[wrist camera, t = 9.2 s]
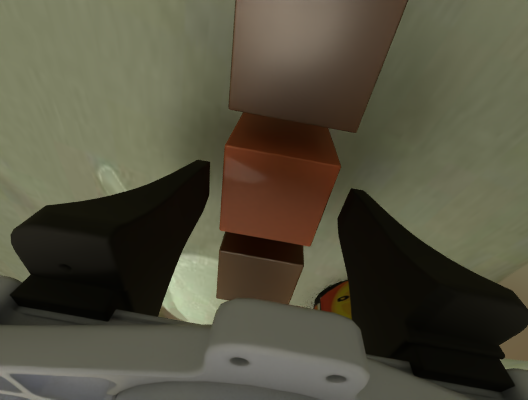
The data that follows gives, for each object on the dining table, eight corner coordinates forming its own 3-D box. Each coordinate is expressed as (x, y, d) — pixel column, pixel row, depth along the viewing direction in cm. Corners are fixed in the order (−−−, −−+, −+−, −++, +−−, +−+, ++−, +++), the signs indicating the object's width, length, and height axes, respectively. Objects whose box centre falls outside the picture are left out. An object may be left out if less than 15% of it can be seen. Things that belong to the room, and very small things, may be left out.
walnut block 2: (375, -21, 10) (427, -48, 6) (337, 100, 13) (356, 133, 9) (260, -43, 10) (241, -84, 6) (247, 83, 13) (228, 109, 9)
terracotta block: (306, 194, 17) (310, 247, 13) (236, 182, 17) (219, 230, 13) (327, 126, 14) (342, 166, 10) (243, 110, 14) (224, 144, 10)
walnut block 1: (301, 211, 18) (304, 265, 14) (287, 256, 21) (286, 311, 17) (235, 199, 18) (218, 250, 14) (230, 245, 21) (215, 298, 17)
